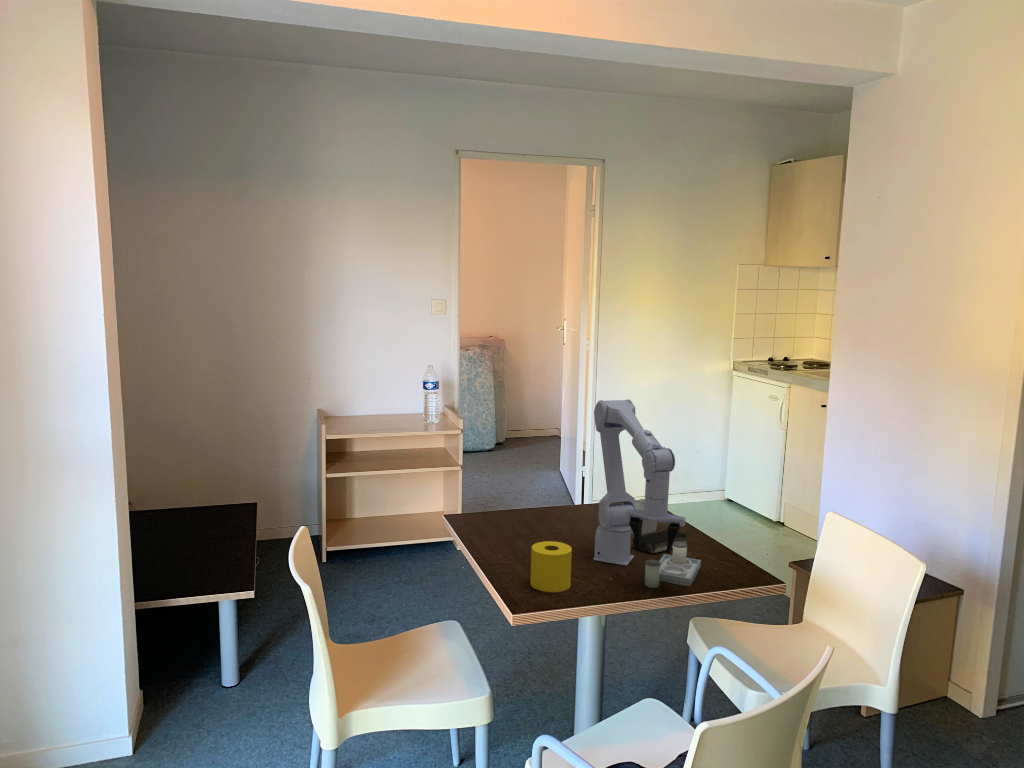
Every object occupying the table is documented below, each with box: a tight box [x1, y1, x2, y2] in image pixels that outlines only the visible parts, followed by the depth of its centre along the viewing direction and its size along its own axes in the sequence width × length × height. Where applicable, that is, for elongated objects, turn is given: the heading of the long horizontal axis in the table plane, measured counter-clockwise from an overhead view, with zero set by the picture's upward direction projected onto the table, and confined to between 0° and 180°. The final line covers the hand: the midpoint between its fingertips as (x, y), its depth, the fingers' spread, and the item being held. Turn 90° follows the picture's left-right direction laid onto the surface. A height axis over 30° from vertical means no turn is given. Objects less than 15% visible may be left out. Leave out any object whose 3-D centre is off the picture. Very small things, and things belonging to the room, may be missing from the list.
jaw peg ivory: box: [672, 542, 688, 565], centre depth 201 cm, size 4×4×6 cm
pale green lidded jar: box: [644, 559, 660, 589], centre depth 189 cm, size 4×4×6 cm
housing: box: [658, 553, 702, 587], centre depth 198 cm, size 10×15×2 cm, turn 156°
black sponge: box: [632, 530, 688, 554], centre depth 219 cm, size 16×8×4 cm, turn 126°
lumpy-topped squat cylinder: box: [621, 498, 658, 536], centre depth 235 cm, size 10×13×9 cm
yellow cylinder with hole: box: [529, 541, 573, 593], centre depth 188 cm, size 10×10×9 cm
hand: (653, 549), depth 189 cm, fingers open, 7 cm apart
